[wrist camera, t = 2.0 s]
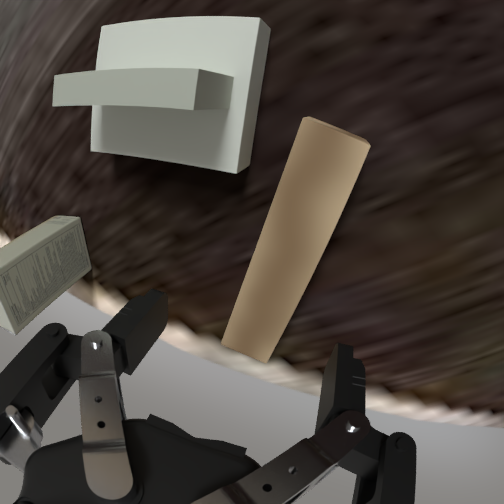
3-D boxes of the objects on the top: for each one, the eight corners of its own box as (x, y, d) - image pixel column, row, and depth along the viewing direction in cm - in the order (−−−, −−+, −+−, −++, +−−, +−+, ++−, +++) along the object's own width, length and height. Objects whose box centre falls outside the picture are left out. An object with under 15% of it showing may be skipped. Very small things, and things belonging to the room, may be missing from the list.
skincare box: (56, 214, 29) (-31, 264, 19) (82, 216, 28) (-12, 272, 18) (68, 266, 32) (-8, 324, 22) (94, 272, 31) (15, 337, 21)
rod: (365, 139, 19) (370, 145, 16) (276, 333, 28) (266, 363, 25) (309, 116, 20) (303, 117, 16) (235, 315, 29) (220, 344, 25)
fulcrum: (270, 29, 17) (232, -9, 10) (249, 165, 22) (204, 195, 15) (125, 30, 19) (53, 19, 12) (114, 144, 24) (43, 165, 17)
